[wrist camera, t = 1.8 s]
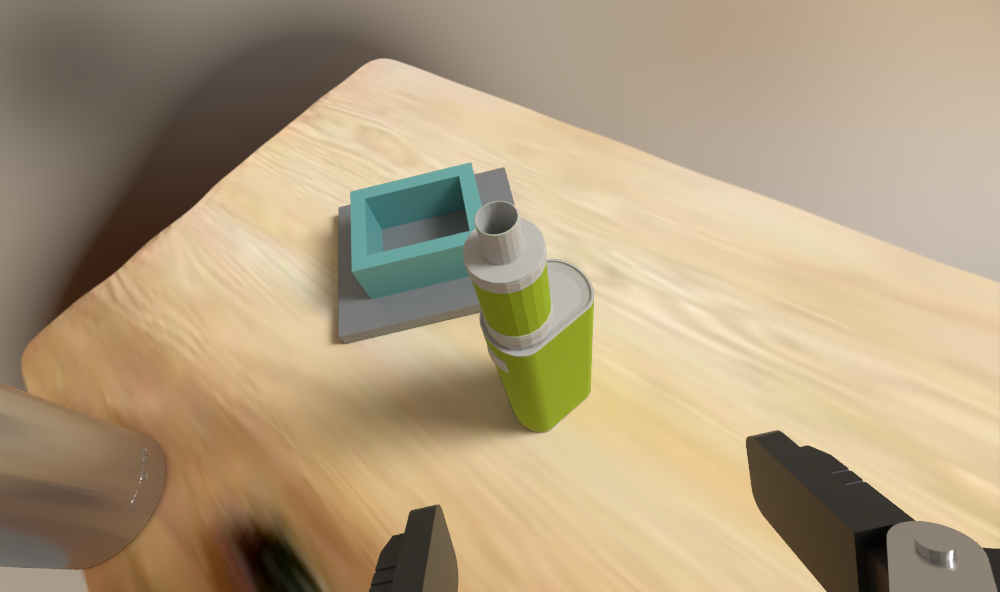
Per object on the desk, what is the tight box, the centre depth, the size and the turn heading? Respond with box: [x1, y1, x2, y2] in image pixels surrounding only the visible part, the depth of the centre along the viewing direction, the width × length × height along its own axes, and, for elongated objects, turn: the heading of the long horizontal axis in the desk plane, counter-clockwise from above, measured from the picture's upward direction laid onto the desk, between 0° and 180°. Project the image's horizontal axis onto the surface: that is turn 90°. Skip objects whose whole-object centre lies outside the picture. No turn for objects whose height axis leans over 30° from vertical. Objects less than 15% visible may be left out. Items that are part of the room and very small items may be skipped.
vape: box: [462, 201, 594, 433], centre depth 26 cm, size 4×6×20 cm, turn 129°
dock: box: [338, 163, 515, 344], centre depth 40 cm, size 16×14×5 cm
